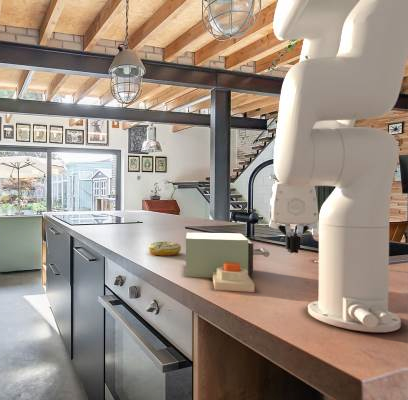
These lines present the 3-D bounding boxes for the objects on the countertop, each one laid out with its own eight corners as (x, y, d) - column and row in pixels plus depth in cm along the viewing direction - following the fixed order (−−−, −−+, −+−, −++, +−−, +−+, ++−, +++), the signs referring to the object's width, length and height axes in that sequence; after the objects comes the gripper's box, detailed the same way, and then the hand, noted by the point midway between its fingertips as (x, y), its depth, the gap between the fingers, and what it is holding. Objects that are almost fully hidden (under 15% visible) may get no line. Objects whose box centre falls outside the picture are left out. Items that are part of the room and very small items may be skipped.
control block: (254, 292, 74) (254, 275, 74) (214, 289, 76) (214, 273, 76) (247, 280, 84) (247, 265, 84) (212, 278, 86) (212, 264, 86)
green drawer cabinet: (241, 268, 97) (241, 233, 97) (248, 279, 85) (248, 239, 84) (186, 266, 100) (186, 232, 100) (186, 276, 88) (185, 238, 88)
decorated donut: (143, 252, 123) (143, 241, 123) (170, 250, 127) (170, 239, 127) (157, 257, 114) (157, 245, 113) (186, 255, 117) (186, 243, 117)
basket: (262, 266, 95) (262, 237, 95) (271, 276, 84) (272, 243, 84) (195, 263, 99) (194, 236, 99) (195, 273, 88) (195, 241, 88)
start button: (241, 273, 78) (241, 265, 78) (224, 272, 79) (224, 264, 79) (239, 269, 81) (239, 262, 81) (222, 269, 82) (222, 261, 82)
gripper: (263, 178, 85) (263, 253, 85) (332, 176, 82) (332, 255, 82) (257, 179, 93) (257, 249, 93) (320, 178, 89) (320, 250, 89)
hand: (292, 252), depth 87 cm, fingers closed
